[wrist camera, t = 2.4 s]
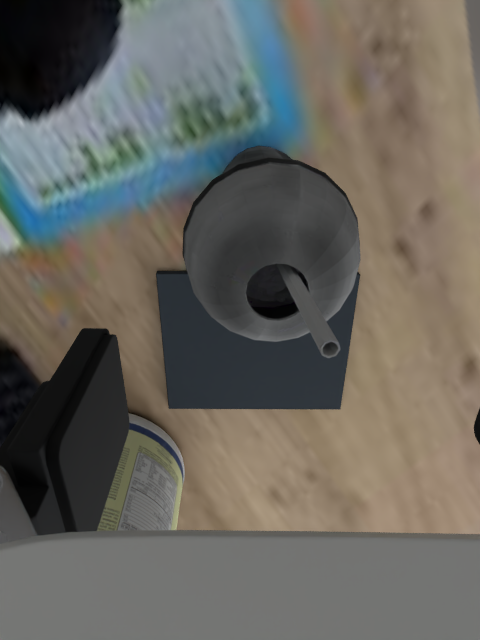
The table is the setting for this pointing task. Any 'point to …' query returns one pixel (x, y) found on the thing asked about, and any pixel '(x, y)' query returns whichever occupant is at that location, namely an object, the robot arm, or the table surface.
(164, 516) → the supplement tub
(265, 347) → the mat
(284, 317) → the beverage cup
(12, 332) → the table surface
